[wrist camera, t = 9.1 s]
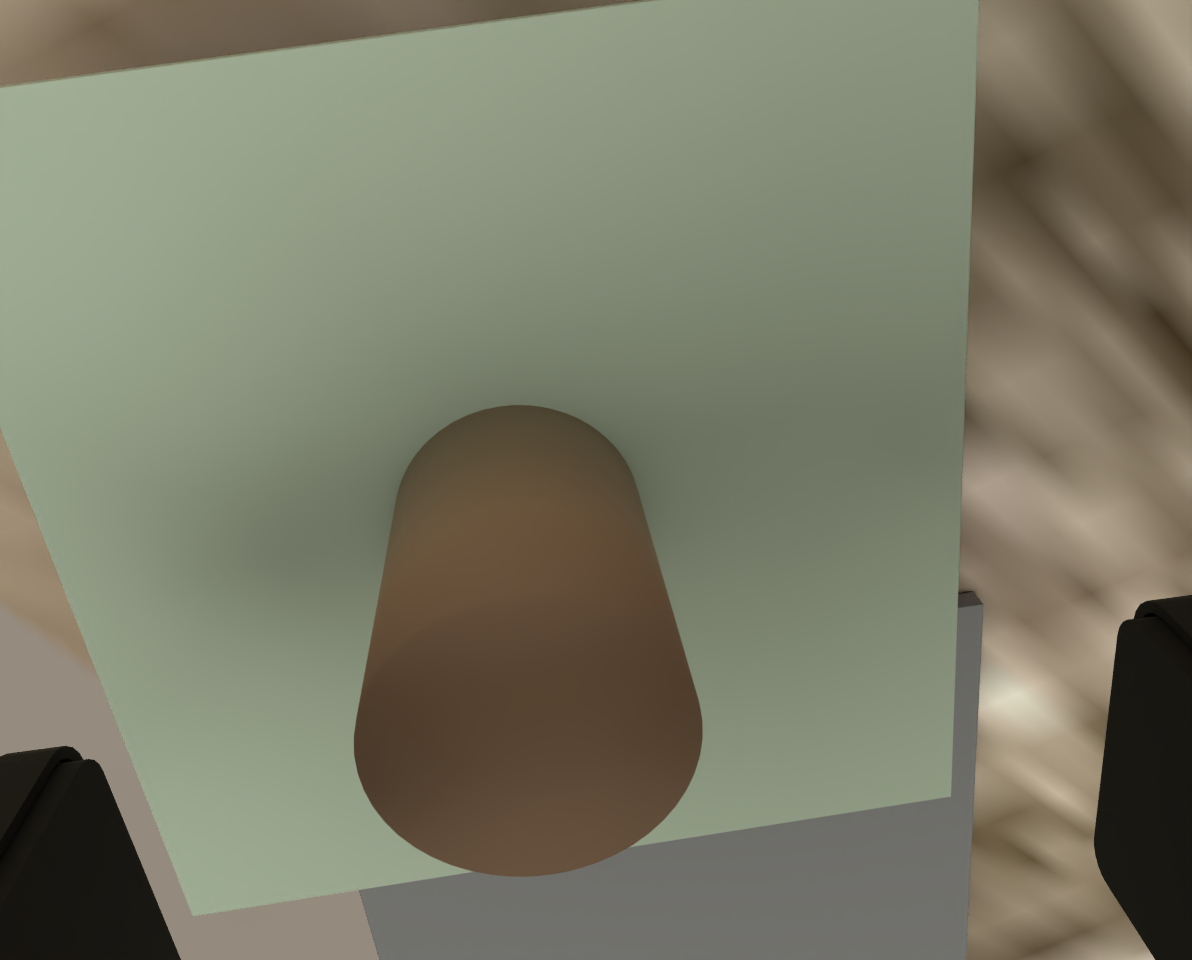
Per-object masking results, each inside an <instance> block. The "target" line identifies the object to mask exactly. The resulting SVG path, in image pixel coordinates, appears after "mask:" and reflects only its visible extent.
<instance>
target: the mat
mask: <svg viewBox="0 0 1192 960" xmlns="http://www.w3.org/2000/svg"><path fill="white" fill-rule="evenodd" d="M982 623H983V603H982V602H981V601H980V599H979V598H978V597H977V596H976V594H975V593H974V592H969V593H962V594H958V612H957V640H956V669H955V697H954V726H953V754H952V783H951V797H945V798H939V799H932V800H926V801H920V802H913V803H907V804H901V805H894V806H888V807H882V808H875V809H869V810H863V811H856V812H850V813H844V814H837V815H831V816H825V817H818V818H812V819H806V820H799V821H793V822H787V823H780V824H774V825H768V826H761V827H755V828H749V829H742V830H736V831H730V832H723V833H717V834H711V835H704V836H698V837H692V838H685V839H679V840H673V841H666V842H660V843H654V844H647V845H641V846H634V847H628V848H627V849H625V850H623V851H621V852H620V853H618V854H616V855H614V856H612V857H609V858H607V859H605V860H602V861H600V862H598V863H595V864H592V865H589V866H586V867H583V868H580V869H576V870H572V871H567V872H563V873H558V874H552V875H542V876H533V877H509V876H498V875H489V874H484V873H478V872H470V873H463V874H457V875H451V876H444V877H438V878H432V879H425V880H419V881H413V882H406V883H400V884H394V885H387V886H381V887H375V888H368V889H362V890H359V892H360V896H361V899H362V903H363V906H364V909H365V913H366V916H367V919H368V923H369V926H370V930H371V932H372V936H373V940H374V943H375V947H376V950H377V953H378V956H379V960H966V948H967V928H968V908H969V887H970V867H971V847H972V826H973V806H974V786H975V765H976V745H977V725H978V704H979V684H980V664H981V643H982Z"/></svg>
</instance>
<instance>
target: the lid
mask: <svg viewBox="0 0 1192 960" xmlns="http://www.w3.org/2000/svg"><path fill="white" fill-rule="evenodd" d="M978 13H979V0H640V1H633V2H625V3H618V4H610V5H603V6H595V7H588V8H580V9H573V10H565V11H558V12H550V13H543V14H535V15H528V16H520V17H513V18H505V19H498V20H490V21H483V22H475V23H468V24H460V25H453V26H445V27H437V28H430V29H422V30H415V31H407V32H400V33H392V34H385V35H377V36H370V37H362V38H355V39H347V40H340V41H332V42H325V43H317V44H310V45H302V46H295V47H287V48H280V49H272V50H265V51H257V52H250V53H242V54H235V55H227V56H220V57H212V58H205V59H197V60H190V61H182V62H175V63H167V64H160V65H152V66H145V67H137V68H130V69H122V70H114V71H107V72H99V73H92V74H84V75H77V76H69V77H62V78H54V79H47V80H39V81H32V82H24V83H17V84H9V85H2V86H0V429H1V431H2V434H3V436H4V439H5V441H6V444H7V446H8V449H9V451H10V454H11V457H12V459H13V462H14V464H15V467H16V469H17V472H18V474H19V477H20V479H21V482H22V484H23V487H24V489H25V492H26V495H27V497H28V500H29V502H30V505H31V507H32V510H33V512H34V515H35V517H36V520H37V522H38V525H39V527H40V530H41V533H42V535H43V538H44V540H45V543H46V545H47V548H48V550H49V553H50V555H51V558H52V560H53V563H54V565H55V568H56V571H57V573H58V576H59V578H60V581H61V583H62V586H63V588H64V591H65V593H66V596H67V598H68V601H69V603H70V606H71V609H72V611H73V614H74V616H75V619H76V621H77V624H78V626H79V629H80V631H81V634H82V636H83V639H84V641H85V644H86V647H87V649H88V652H89V654H90V657H91V659H92V662H93V664H94V667H95V669H96V672H97V674H98V677H99V679H100V682H101V685H102V687H103V690H104V692H105V695H106V697H107V700H108V702H109V705H110V707H111V710H112V712H113V715H114V717H115V720H116V722H117V725H118V727H119V730H120V733H121V735H122V738H123V740H124V743H125V745H126V748H127V750H128V753H129V755H130V758H131V761H132V763H133V766H134V768H135V771H136V773H137V776H138V778H139V781H140V783H141V786H142V788H143V791H144V793H145V796H146V798H147V801H148V803H149V806H150V809H151V811H152V813H153V816H154V819H155V821H156V824H157V826H158V829H159V831H160V834H161V837H162V839H163V842H164V844H165V847H166V849H167V852H168V854H169V857H170V859H171V862H172V864H173V867H174V870H175V872H176V874H177V877H178V880H179V882H180V885H181V887H182V890H183V892H184V895H185V897H186V900H187V902H188V905H189V907H190V910H191V913H192V915H193V916H197V915H203V914H210V913H216V912H222V911H229V910H235V909H241V908H248V907H254V906H260V905H267V904H273V903H279V902H286V901H292V900H298V899H304V898H311V897H317V896H324V895H330V894H336V893H343V892H349V891H355V890H362V889H368V888H375V887H381V886H387V885H394V884H400V883H406V882H413V881H419V880H425V879H432V878H438V877H444V876H451V875H457V874H463V873H470V872H478V873H484V874H489V875H498V876H509V877H533V876H542V875H552V874H558V873H563V872H567V871H572V870H576V869H580V868H583V867H586V866H589V865H592V864H595V863H598V862H600V861H602V860H605V859H607V858H609V857H612V856H614V855H616V854H618V853H620V852H621V851H623V850H625V849H627V848H628V847H634V846H641V845H647V844H654V843H660V842H666V841H673V840H679V839H685V838H692V837H698V836H704V835H711V834H717V833H723V832H730V831H736V830H742V829H749V828H755V827H761V826H768V825H774V824H780V823H787V822H793V821H799V820H806V819H812V818H818V817H825V816H831V815H837V814H844V813H850V812H856V811H863V810H869V809H875V808H882V807H888V806H894V805H901V804H907V803H913V802H920V801H926V800H932V799H939V798H945V797H951V783H952V754H953V726H954V697H955V669H956V640H957V612H958V583H959V555H960V526H961V498H962V469H963V441H964V412H965V384H966V355H967V327H968V298H969V270H970V241H971V213H972V184H973V156H974V127H975V99H976V70H977V42H978Z"/></svg>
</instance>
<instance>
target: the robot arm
mask: <svg viewBox="0 0 1192 960" xmlns="http://www.w3.org/2000/svg"><path fill="white" fill-rule="evenodd" d="M1094 848H1095V855H1096V859H1097V863H1098V866H1099V869H1100V871H1101V874H1102V876H1103V878H1104V880H1105V882H1106V883H1107V885H1108V887H1109V888H1110V890H1111V891H1112V893H1113V894H1114V896H1115V898H1116V899H1117V901H1118V902H1119V904H1120V905H1121V907H1122V908H1123V910H1124V912H1125V913H1126V915H1127V916H1128V918H1129V919H1130V921H1131V922H1132V924H1133V926H1134V927H1135V929H1136V930H1137V932H1138V933H1139V935H1140V936H1141V938H1142V940H1143V941H1144V943H1145V944H1146V946H1147V947H1148V949H1149V950H1150V952H1151V954H1152V955H1153V957H1154V958H1155V960H1192V595H1188V596H1181V597H1173V598H1166V599H1158V600H1151V601H1146V602H1144V603H1142V604H1140V606H1139V607H1138V609H1137V610H1136V612H1135V616H1134V619H1130V620H1126V621H1124V622H1123V623H1122V624H1121V626H1120V627H1119V631H1118V635H1117V644H1116V653H1115V661H1114V670H1113V679H1112V687H1111V696H1110V705H1109V713H1108V722H1107V731H1106V739H1105V748H1104V757H1103V765H1102V774H1101V783H1100V791H1099V800H1098V809H1097V818H1096V826H1095V835H1094ZM0 960H181V959H180V957H179V954H178V952H177V949H176V947H175V944H174V942H173V940H172V937H171V935H170V932H169V930H168V927H167V925H166V923H165V921H164V918H163V915H162V913H161V911H160V908H159V906H158V903H157V901H156V898H155V896H154V894H153V891H152V889H151V886H150V884H149V881H148V879H147V876H146V874H145V872H144V869H143V867H142V864H141V862H140V859H139V857H138V855H137V852H136V850H135V847H134V845H133V842H132V840H131V838H130V835H129V833H128V830H127V828H126V825H125V823H124V821H123V818H122V816H121V813H120V811H119V808H118V806H117V804H116V801H115V799H114V796H113V794H112V791H111V789H110V786H109V784H108V782H107V779H106V777H105V775H104V772H103V770H102V768H101V767H100V765H99V764H98V763H97V762H96V761H95V760H91V759H86V760H83V759H82V757H81V755H80V753H79V752H78V751H76V750H75V749H74V748H73V747H68V746H61V747H54V748H47V749H39V750H31V751H24V752H17V753H9V754H5V755H3V756H0Z"/></svg>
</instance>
